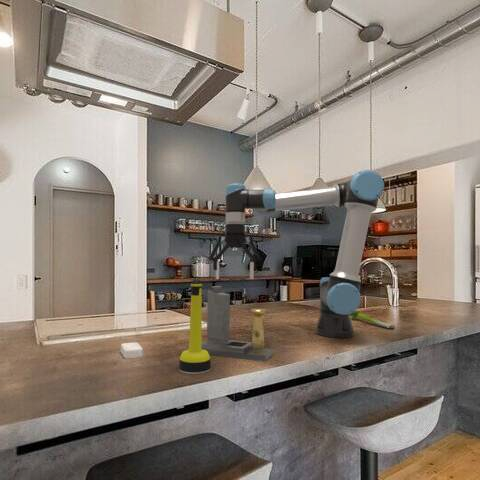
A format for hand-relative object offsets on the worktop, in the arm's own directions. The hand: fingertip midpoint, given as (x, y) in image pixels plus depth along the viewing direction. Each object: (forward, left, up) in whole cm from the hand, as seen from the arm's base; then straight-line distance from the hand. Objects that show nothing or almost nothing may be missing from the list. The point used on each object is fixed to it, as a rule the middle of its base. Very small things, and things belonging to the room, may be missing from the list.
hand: (234, 278), depth 138 cm
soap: (+21, +34, -23) cm, 46 cm away
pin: (-13, +10, -23) cm, 28 cm away
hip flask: (+5, +5, -23) cm, 24 cm away
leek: (-48, -56, -23) cm, 77 cm away
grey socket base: (-9, +20, -23) cm, 32 cm away
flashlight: (-4, +39, -23) cm, 45 cm away
